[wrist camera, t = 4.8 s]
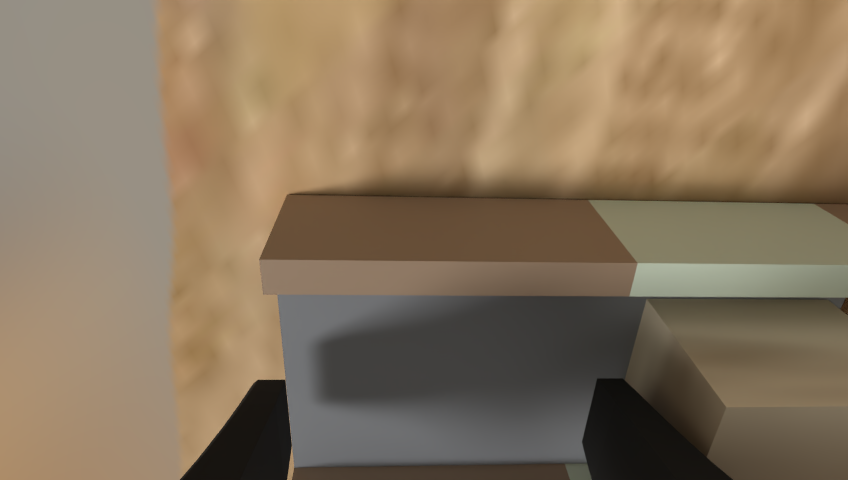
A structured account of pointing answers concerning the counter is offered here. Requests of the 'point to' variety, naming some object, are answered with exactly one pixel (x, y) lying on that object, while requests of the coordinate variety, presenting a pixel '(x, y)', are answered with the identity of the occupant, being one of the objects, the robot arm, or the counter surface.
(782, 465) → the maple block
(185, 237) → the counter surface
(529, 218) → the board
